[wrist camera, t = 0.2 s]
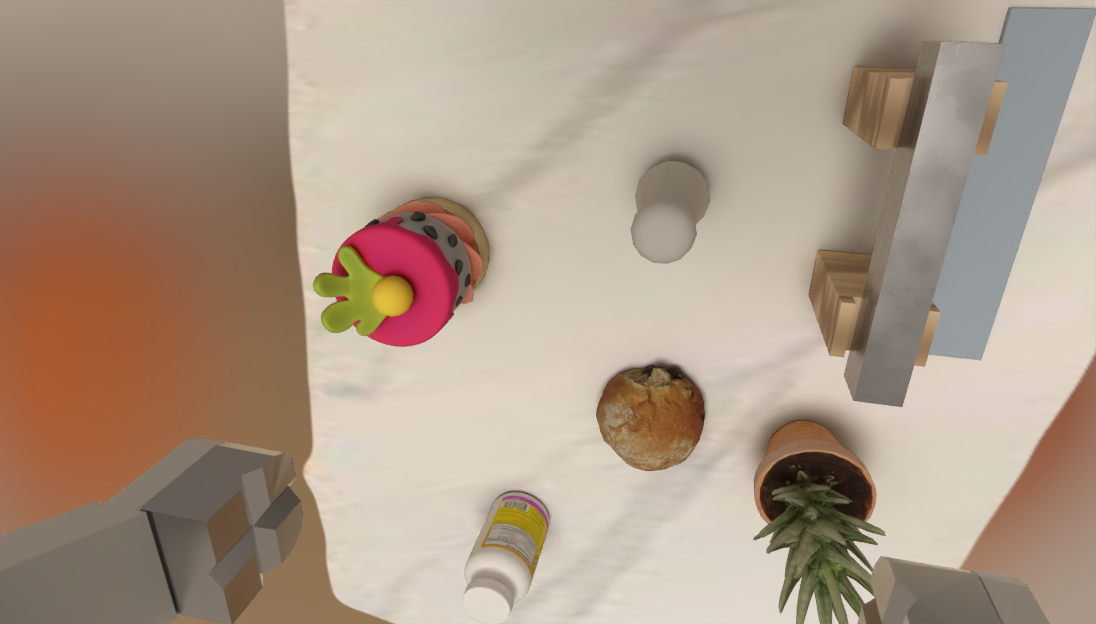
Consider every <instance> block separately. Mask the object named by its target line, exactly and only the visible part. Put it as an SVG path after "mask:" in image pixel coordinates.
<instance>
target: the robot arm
mask: <svg viewBox="0 0 1096 624" xmlns="http://www.w3.org/2000/svg"><path fill="white" fill-rule="evenodd" d="M295 478H296V472H295V468H294V463H293V458H292V457H290V456H288V455H286V454H285V453H282V452H277V451H272V450H267V449H261V448H256V447H252V446H247V445H242V444H236V443H231V442H222V441H218V440H213V439H208V438H203V437H196V438H192V439H187V440H186V441H185V442H183V443H182V444H181V445H180V446H178V447H177V448H176V449H174V450H173V451H172V452H171V453H169V454H168V455H167V456H165V457H164V458H163V459H162V460H160V461H159V462H158V463H156V464H155V465H154V466H152V467H151V468H150V469H149V470H147V471H146V472H145V473H143V474H142V475H141V476H140V477H138V478H137V479H136V480H135V481H133V482H132V483H131V484H129V485H128V486H127V487H125V488H124V489H123V490H122V491H120V492H119V493H118V494H117V495H115V496H114V497H113V498H111V499H110V500H109V501H108V502H106V503H105V504H104V503H99V502H94V503H91V504H88V505H85V506H83V507H80V508H77V509H75V510H72V511H69V512H66V513H63V514H61V515H58V516H55V517H52V518H50V519H47V520H44V521H41V522H38V523H36V524H33V525H30V526H27V527H25V528H22V529H19V530H16V531H13V532H11V533H8V534H5V535H3V536H0V624H168V623H170V622H172V621H173V620H175V619H176V618H177V614H178V615H183V616H188V617H193V618H198V619H203V620H208V621H213V622H218V623H223V624H233V623H234V622H235V621H236V620H237V619H238V617H239V616H240V615H241V614H242V613H243V611H244V610H245V609H246V608H247V606H248V605H249V604H250V603H251V601H252V600H253V599H254V598H255V597H256V595H257V594H258V592H260V590H261V589H262V588H263V573H265V572H267V571H269V570H271V569H273V568H275V567H277V566H278V565H280V564H282V563H283V562H284V560H285V559H286V558H287V556H288V555H289V554H290V552H291V551H292V550H293V548H294V546H295V543H296V541H297V539H298V536H299V534H300V531H301V527H302V526H301V525H302V516H303V512H302V506H301V500H300V499H299V498H298V496H297V495H296V494H295V493H294V492H293V490H292V489H291V488H290V487H289V486H290V485H291V483H292V482H293V481H294V479H295ZM870 581H871V585H872V589H873V592H874V596H875V598H874V599H873V600H871V601H869V602H868V603H866V604H865V605H863V606H862V608H861V612H860V616H859V620H858V624H1049V622H1048V620H1047V618H1046V617H1045V615H1044V613H1043V612H1042V610H1041V608H1040V606H1039V604H1038V603H1037V601H1036V599H1035V598H1034V596H1033V594H1032V592H1031V591H1030V589H1029V587H1028V586H1027V584H1025V583H1024V582H1023V581H1022V580H1021V579H1019V578H1017V577H1011V576H1004V575H997V574H991V573H985V572H978V571H966V570H961V569H955V568H949V567H943V566H937V565H931V564H925V563H919V562H913V561H907V560H901V559H895V558H889V557H883V556H881V557H880V558H879V559H878V561H877V562H876V564H875V566H874V569H873V572H872V575H871V578H870Z"/></svg>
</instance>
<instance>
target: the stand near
mask: <svg viewBox="0 0 1096 624" xmlns="http://www.w3.org/2000/svg"><path fill="white" fill-rule="evenodd" d="M915 71H916V69H902V68H869V67H854V68H853V73H852V78H851V83H850V88H849V93H848V99H847V104H846V109H845V114H844V119H843V124H844V125H845V126H846V127H847V128H849V129H850V130H851V131H853V132H854V133H855V134H857V135H858V136H859V137H860V138H862V139H863V140H864V141H866V142H867V143H868V144H870V145H871V146H872V147H873V148H875V149H882V150H892V147H898V143H899V139H900V135H901V130H902V126H903V122H904V118H905V113H906V109H907V105H908V101H909V96H910V92H911V88H912V84H913V79H914V75H915ZM1007 84H1008V82H1004V81H998V80H995V82H994V86H993V89H992V93H991V96H990V100H989V103H988V107H987V110H986V114H985V117H984V121H983V124H982V128H981V131H980V135H979V138H978V142H977V145H976V149H975V153H974V155H987V152H988V149H989V145H990V142H991V138H992V135H993V132H994V128H995V125H996V121H997V118H998V114H999V111H1000V108H1001V104H1002V101H1003V97H1004V94H1005V90H1006V87H1007Z"/></svg>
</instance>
